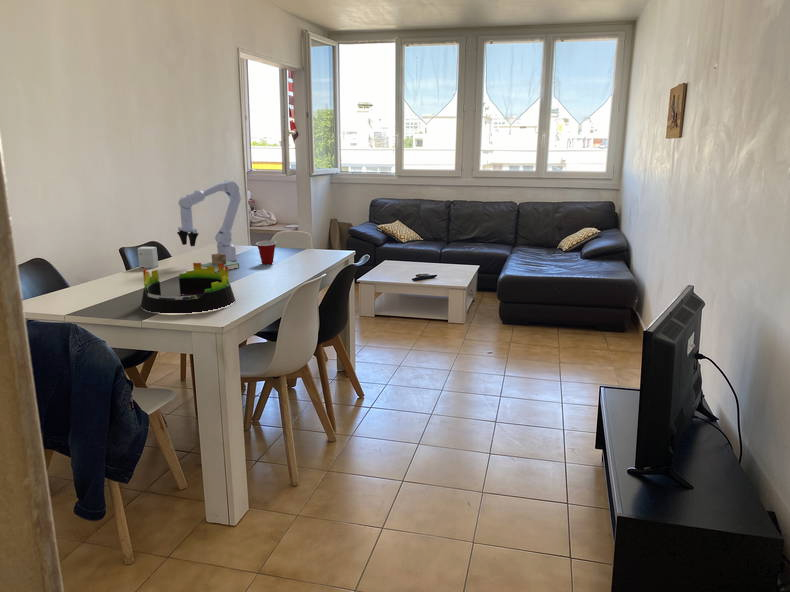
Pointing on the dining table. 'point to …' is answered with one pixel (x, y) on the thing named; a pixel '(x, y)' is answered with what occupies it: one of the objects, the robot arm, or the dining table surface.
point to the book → (228, 263)
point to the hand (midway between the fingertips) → (188, 245)
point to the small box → (147, 257)
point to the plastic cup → (266, 251)
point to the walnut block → (218, 258)
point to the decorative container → (190, 291)
